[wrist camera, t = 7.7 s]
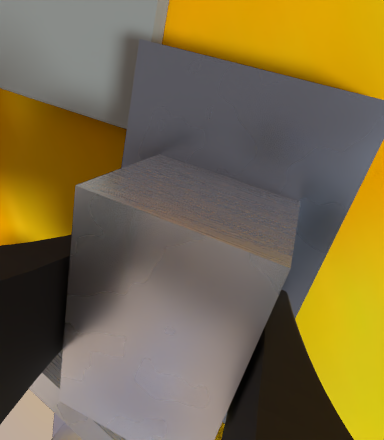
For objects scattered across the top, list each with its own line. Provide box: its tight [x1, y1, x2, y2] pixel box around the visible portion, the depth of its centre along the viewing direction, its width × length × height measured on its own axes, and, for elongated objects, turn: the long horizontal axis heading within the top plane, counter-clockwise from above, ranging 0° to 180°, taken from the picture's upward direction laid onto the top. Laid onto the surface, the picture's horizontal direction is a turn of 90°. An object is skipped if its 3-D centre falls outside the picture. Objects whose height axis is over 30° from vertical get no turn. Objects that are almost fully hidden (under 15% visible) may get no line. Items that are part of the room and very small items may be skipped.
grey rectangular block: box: [59, 154, 300, 440], centre depth 9 cm, size 7×4×4 cm, turn 166°
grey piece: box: [121, 39, 384, 423], centre depth 12 cm, size 13×7×2 cm, turn 166°
